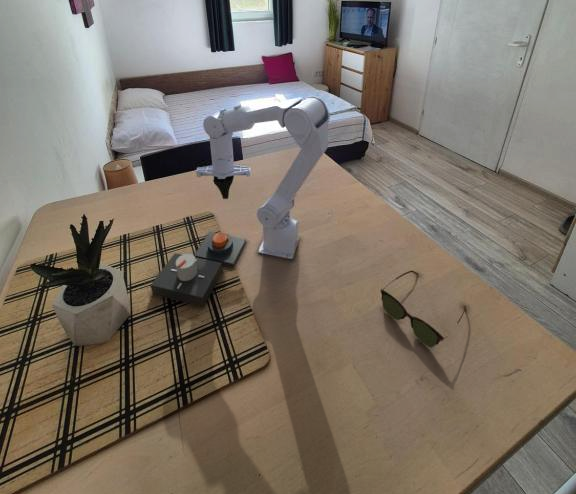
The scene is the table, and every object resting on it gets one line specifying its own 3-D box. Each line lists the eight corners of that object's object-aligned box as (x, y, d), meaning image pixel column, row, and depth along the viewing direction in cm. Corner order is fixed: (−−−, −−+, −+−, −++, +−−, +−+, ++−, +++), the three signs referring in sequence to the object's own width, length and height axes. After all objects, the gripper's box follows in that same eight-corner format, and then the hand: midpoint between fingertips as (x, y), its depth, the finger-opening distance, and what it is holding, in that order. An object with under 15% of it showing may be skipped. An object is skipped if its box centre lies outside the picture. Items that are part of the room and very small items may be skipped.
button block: (246, 242, 90) (245, 233, 89) (233, 267, 82) (232, 258, 81) (209, 235, 93) (208, 226, 91) (194, 258, 85) (192, 250, 83)
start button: (229, 239, 88) (228, 234, 87) (223, 249, 84) (223, 243, 84) (216, 237, 88) (216, 232, 88) (211, 246, 85) (210, 241, 84)
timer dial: (187, 263, 79) (185, 250, 78) (201, 270, 77) (199, 257, 76) (173, 276, 76) (171, 262, 74) (187, 284, 74) (185, 270, 72)
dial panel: (222, 271, 81) (221, 262, 80) (203, 307, 72) (202, 297, 71) (176, 261, 84) (174, 252, 82) (152, 294, 75) (150, 284, 74)
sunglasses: (376, 304, 73) (380, 287, 71) (411, 274, 82) (415, 258, 80) (438, 356, 63) (444, 338, 61) (470, 315, 72) (476, 298, 70)
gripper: (191, 162, 83) (197, 206, 88) (248, 161, 83) (250, 205, 89) (197, 149, 89) (202, 190, 95) (250, 149, 90) (252, 190, 95)
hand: (225, 196), depth 92 cm, fingers closed
